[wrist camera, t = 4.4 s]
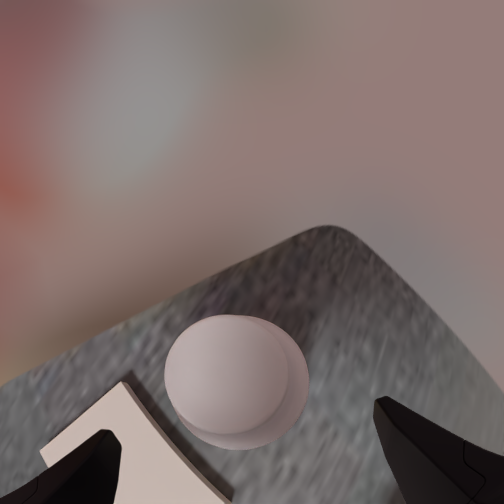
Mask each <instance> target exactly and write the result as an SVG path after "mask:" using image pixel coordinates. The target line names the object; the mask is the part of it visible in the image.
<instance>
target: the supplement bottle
mask: <svg viewBox="0 0 504 504" xmlns="http://www.w3.org/2000/svg"><path fill="white" fill-rule="evenodd" d="M165 385H166V390H167V393H168V396H169V398H170V400H171V402H172V404H173V407H174V409H175V412H176V414H177V415H178V417H179V418H180V420H181V422H182V423H183V424H184V425H185V426H186V428H187V429H188V430H189V431H191V432H192V433H193V434H194V435H195V436H197V437H198V438H200V439H201V440H203V441H205V442H207V443H209V444H211V445H214V446H217V447H220V448H225V449H232V450H246V449H253V448H257V447H260V446H263V445H266V444H268V443H271V442H273V441H274V440H276V439H278V438H279V437H281V436H282V435H284V434H285V433H286V432H287V431H288V430H289V429H290V428H291V427H292V426H293V425H294V424H295V423H296V421H297V420H298V418H299V417H300V415H301V413H302V411H303V409H304V407H305V404H306V401H307V397H308V392H309V372H308V368H307V364H306V361H305V358H304V356H303V354H302V352H301V350H300V348H299V346H298V345H297V344H296V342H295V341H294V340H293V339H292V338H291V337H290V336H289V335H288V334H287V333H286V332H285V331H284V330H282V329H281V328H279V327H278V326H276V325H274V324H273V323H271V322H268V321H266V320H263V319H260V318H257V317H252V316H244V315H217V316H211V317H208V318H205V319H202V320H200V321H198V322H196V323H195V324H193V325H191V326H190V327H189V328H187V329H186V330H185V331H184V332H183V333H182V334H181V335H180V336H179V337H178V338H177V339H176V341H175V342H174V344H173V346H172V347H171V349H170V352H169V354H168V357H167V360H166V365H165Z"/></svg>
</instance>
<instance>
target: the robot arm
mask: <svg viewBox="0 0 504 504" xmlns="http://www.w3.org/2000/svg"><path fill="white" fill-rule="evenodd" d="M373 420H374V423H375V426H376V429H377V433H378V436H379V439H380V442H381V445H382V448H383V451H384V454H385V457H386V460H387V462H388V464H389V466H390V468H391V471H392V473H393V475H394V477H395V479H396V481H397V483H398V486H399V488H400V490H401V492H402V494H403V497H404V499H405V501H406V503H407V504H504V456H501V455H498V454H495V453H493V452H490V451H487V450H485V449H483V448H481V447H478V446H476V445H474V444H472V443H470V442H468V441H467V440H464V439H463V438H461V437H459V436H457V435H455V434H453V433H451V432H450V431H448V430H446V429H444V428H442V427H440V426H439V425H437V424H435V423H433V422H431V421H430V420H428V419H426V418H424V417H423V416H421V415H419V414H417V413H416V412H414V411H412V410H410V409H409V408H407V407H405V406H404V405H402V404H400V403H398V402H397V401H395V400H393V399H392V398H390V397H388V396H384V397H381V398H378V399H376V400H375V402H374V412H373ZM121 453H122V446H121V443H120V442H119V440H118V439H117V437H116V436H115V434H114V433H113V432H112V431H111V430H109V429H100V430H99V431H97V432H96V433H95V434H93V435H92V436H91V437H90V438H88V439H87V440H86V441H84V442H83V443H82V444H80V445H79V446H78V447H76V448H75V449H74V450H72V451H71V452H70V453H68V454H67V455H66V456H64V457H63V458H62V459H60V460H59V461H58V462H56V463H55V464H54V465H52V466H51V467H49V468H48V469H47V470H45V471H44V472H42V473H41V474H40V475H39V476H37V477H35V478H34V479H33V480H31V481H30V482H28V483H27V484H25V485H24V486H22V487H20V488H18V489H17V490H15V491H13V492H11V493H9V494H7V495H5V496H4V497H2V498H0V504H114V500H115V495H116V491H117V486H118V480H119V471H120V462H121Z"/></svg>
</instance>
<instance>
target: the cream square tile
mask: <svg viewBox="0 0 504 504" xmlns="http://www.w3.org/2000/svg"><path fill="white" fill-rule="evenodd" d="M100 429H109V430H111V431H112V432H113V433H114V434H115V436H116V437H117V439H118V440H119V442H120V443H121V446H122V453H121V462H120V471H119V480H118V486H117V491H116V495H115V500H114V504H231V503H232V502H230V501H229V500H228V499H227V498H226V497H225V496H224V495H223V494H222V493H221V492H220V491H218V490H217V489H216V488H215V487H214V486H213V485H212V484H211V483H210V482H209V481H208V480H207V479H206V478H205V477H204V476H203V475H202V474H201V473H200V472H199V471H198V470H197V469H196V468H195V467H194V465H193V464H192V463H191V462H190V461H189V460H188V459H187V458H186V457H185V456H184V455H183V453H182V452H181V451H180V450H179V449H178V448H177V447H176V446H175V444H174V443H173V442H172V441H171V440H170V439H169V437H168V436H167V435H166V434H165V433H164V431H163V430H162V429H161V428H160V426H159V425H158V424H157V423H156V421H155V420H154V419H153V417H152V416H151V415H150V414H149V412H148V411H147V410H146V408H145V407H144V406H143V404H142V403H141V402H140V400H139V399H138V397H137V396H136V395H135V393H134V392H133V390H132V389H131V387H130V386H129V385H128V383H125V382H121V381H120V382H119V383H118V384H117V385H116V386H115V387H114V388H112V389H111V390H110V391H109V392H108V393H107V394H105V395H104V396H103V397H102V398H101V399H100V400H99V401H97V402H96V403H95V404H94V405H93V406H92V407H90V408H89V409H88V410H87V411H86V412H85V413H83V414H82V415H81V416H80V417H79V418H78V419H76V420H75V421H74V422H73V423H72V424H71V425H69V426H68V427H67V428H66V429H65V430H64V431H62V432H61V433H60V434H59V435H58V436H57V437H55V438H54V439H53V440H52V441H51V442H50V443H48V444H47V445H46V446H45V447H44V448H42V449H41V450H40V453H41V455H42V457H43V459H44V461H45V462H46V464H47V466H48V468H49V467H51V466H52V465H54V464H55V463H56V462H58V461H59V460H60V459H62V458H63V457H64V456H66V455H67V454H68V453H70V452H71V451H72V450H74V449H75V448H76V447H78V446H79V445H80V444H82V443H83V442H84V441H86V440H87V439H88V438H90V437H91V436H92V435H93V434H95V433H96V432H97V431H99V430H100Z"/></svg>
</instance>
